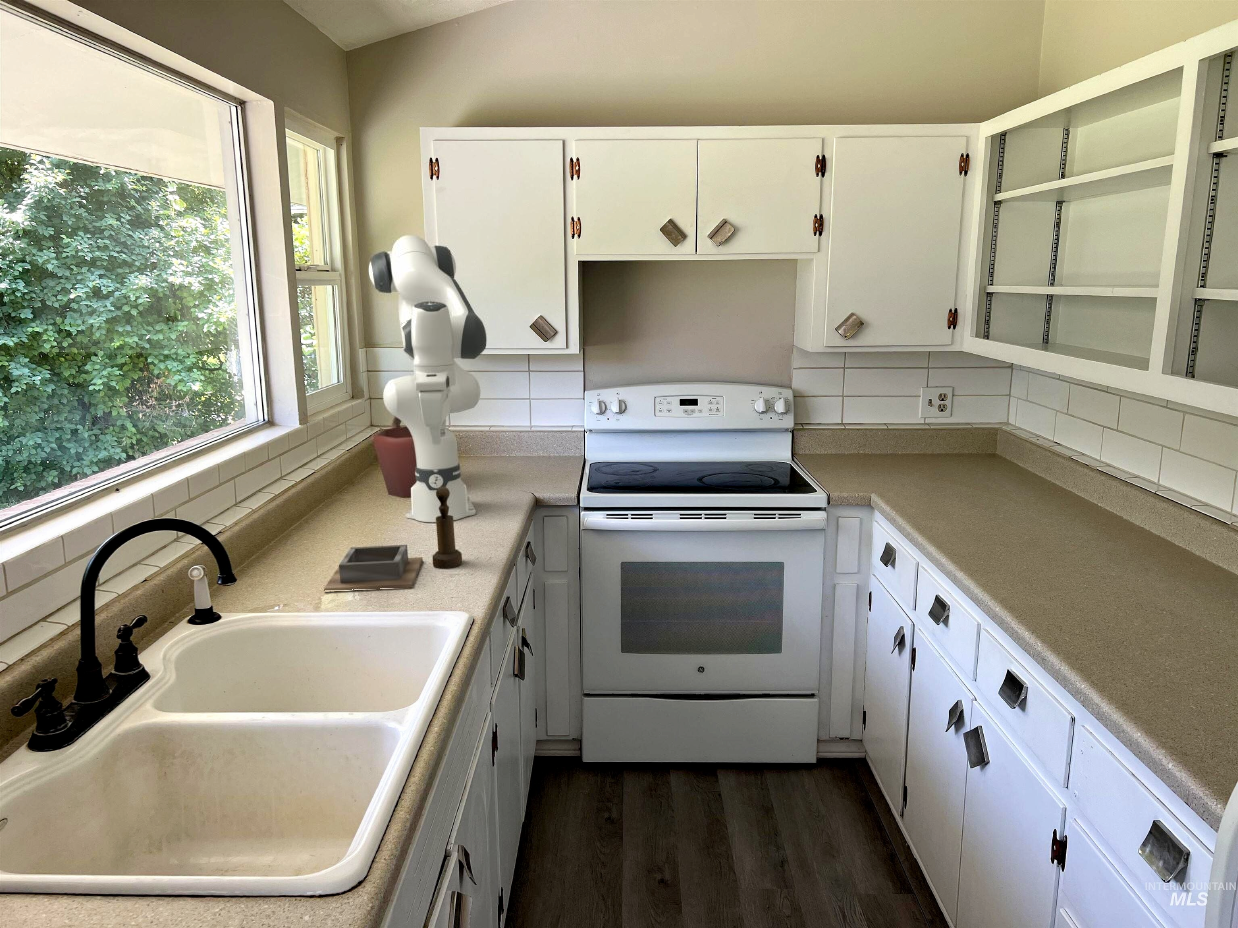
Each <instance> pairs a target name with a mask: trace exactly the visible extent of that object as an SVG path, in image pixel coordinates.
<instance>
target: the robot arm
mask: <svg viewBox="0 0 1238 928" xmlns="http://www.w3.org/2000/svg"><path fill="white" fill-rule="evenodd" d="M456 264H457V263H456V260H455V257H454V256H453V253H452V252H451V249H449V248H448V247H447V246H444V245H434V246H430V245H429V244H428V243H427V241H426V240H425V239H424V238H422V237H420V236H418V235H417V234H406V235H403V236H400V237H399V238H398V239H397V240H396V241H395V242H394V244H393V245H392V249H391V250H388V251H380V252H377V253H375V254H373V256H372V257H371V258H370V262H369V266H368V274H369V278H370V281H371V283H372V285H373V286H374V287H375V290H377V292H379V293H384V294H392V293H398V307H397V308H398V310H397V311H398V320H399V328H400V333H401V340H402V346H403V352H404V353H405V355H406V356H407V358H409V359H410V360H411V361H413V363H412V364H413V374H407V375H403V376H400V377H395V378H393V379H389V380H388V382H387V383H386V385H385V386H384V389H383V393H382V395H383V396H382V399H383V403H384V406H385V408H386V410H387V411H388V412H389V413H390V414H391V415H392V416H393V417H394V416H396V417H397V418H398V419H400V420H401V423H403V424H404V425H405V426H407V428H408V429H409V431H410V433H411V435H412V437H413V441H414V446H415V453H416V463H417V466H416V467H415V475H416V480H417V482H416V483H415V485H413V487H412V488H411V498H410V500H411V501H410V502H411V509H410V510H408V512H406V514H405V518H407V519H413V520H416V521H418V522H425V523H436V517H438V516H441V514H440V511H439V507H440V505H441V503H440V501H439V500H438V498H437V496H436V491H437V489H438V488H440V487H446V488H448V489H449V492H450V496H449V498H448V500H447V505H448V506H449V512H448V515H451V516H453V521H457V520H461V519H463V518H465V517H470V516H475V515H476V514H477V511H476V509H475V507H474V505H473V503H472V501H471V499H470V497H469V496H468V491H467V490H468V489H467V485H466V484H465V482H463V480H462V478H461V476H462V473H461V472H462V468H461V464H460V463H459V456H458V453H459V452H458V442H457V437H456V435H455V434H454V432H453V431H452V430H450V429H449V430H448V428H447V427H446V425H447V417H448V416H449V415H450V414H455V413H461V412H464V411H469V410H471V409H474V408H475V407H476V406H477V405H478V403H479V401H480V398H481V386H480V384H479V381H478V380H477V378H476V377H475V376H474V375H473V374H472V373H471V372H468V371H467V370H465V369H464V368H463V367H461V366H460V365H459V363H458V362H457V361H456V360H455V359H461V360H462V359H463V360H475V359H476V358H479V356H481V354H482V353H483V352H484V351H485V349H486V347H487V340H488V339H487V338H488V337H487V330H486V327H485V325H484V322H483V320H481V318H480V317H479V316H478V315H477V314H476V312H475V311H474V309H473V307H472V305H471V303H470V302H469V300H468V298H467V297H466V295H465V293H464V291H463V289H462V287H461V286H460V284H459V282H458V281H457V280H456V278H455V276H456V273H457V265H456ZM450 314H451V315H450ZM445 428H447V429H445Z"/></svg>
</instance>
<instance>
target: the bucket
mask: <svg viewBox="0 0 1238 928" xmlns="http://www.w3.org/2000/svg"><path fill="white" fill-rule="evenodd" d="M401 423H402V421H401V420H400V419H398V418H397V417H396V416H394V415H393V418H392V420H391V424H390V428H384V429H383V428H382V429H381V430H380V431H378V432H377V433H375V434H373V435H372V436H373V446H374V449H375V453H376V456H377V460H378V462H379V467H380V471H381V473H382V477H383V480H384V485H385V487H386V488H385V489H386V491H387V493H388V496H392V497H398V498H400V499H401V498H402V499H411V488H412V487H413V485H415V483H416V482H417V480H416V475H415V467H416V466H417V463H416V453H415V446H414V441H413V437H412V435H411V433H410V431H409V429H408V428H407V426H406V425H405V426H401ZM445 429H448V428H447V427H446V428H445ZM448 430H450V429H448Z"/></svg>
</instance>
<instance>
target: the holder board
mask: <svg viewBox="0 0 1238 928" xmlns="http://www.w3.org/2000/svg"><path fill="white" fill-rule="evenodd" d="M423 562H424V559H423V557H422V556H420V557H418V556H416V557H415V556H413V557H409V553H408V544H396V545H395V544H394V545H392V544H391V545H375V546H374V545H373V546H371V545H370V546H351V547H350V548H349V550H348V551H347V553H346V554H345V555H344V557H343V558H342V559H341V561H340V563H339V564H338V567H337V569H336V570H335V571H334V573H333V574H332V575H331V577H330V579H329V581H327V583H325V584H326V585H325V586H324V587H323V592H324V591H325V590H352V589H353V590H354V589H380V588H409V589H413V587H412V586H414V583H415V582H416V580H417V577H418V573H419V571H420V569H421V567H422V564H423Z"/></svg>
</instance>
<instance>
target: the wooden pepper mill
mask: <svg viewBox="0 0 1238 928" xmlns="http://www.w3.org/2000/svg"><path fill="white" fill-rule="evenodd" d="M436 496H437V498H438V500H439V501H440V503H441V505H440V507H439V511H440V514H441V516H438V517H436V522H435V527H436V539H437V551H435V553H433V554H432V566H433V568H436V569H452V568H456V567H459V566H461V565H462V564H463V553H462V552H461V551H460V550H458V549H456V540H455V539H456V538H455V525H454V523H455V520H453V516H451V515H448V512H449V506H448V505H447V500H448V498H449V496H450V492H449V489H448V488H446V487H440V488H438V489H437V491H436Z"/></svg>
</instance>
